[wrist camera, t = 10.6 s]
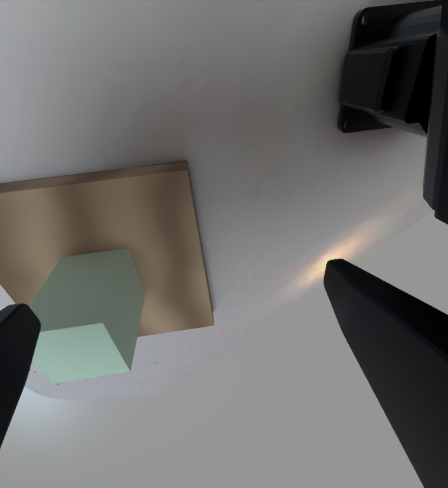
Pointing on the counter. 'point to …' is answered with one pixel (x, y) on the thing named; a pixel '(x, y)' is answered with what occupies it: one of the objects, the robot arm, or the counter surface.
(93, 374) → the sage block
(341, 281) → the robot arm
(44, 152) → the counter surface
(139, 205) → the walnut base
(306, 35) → the counter surface
